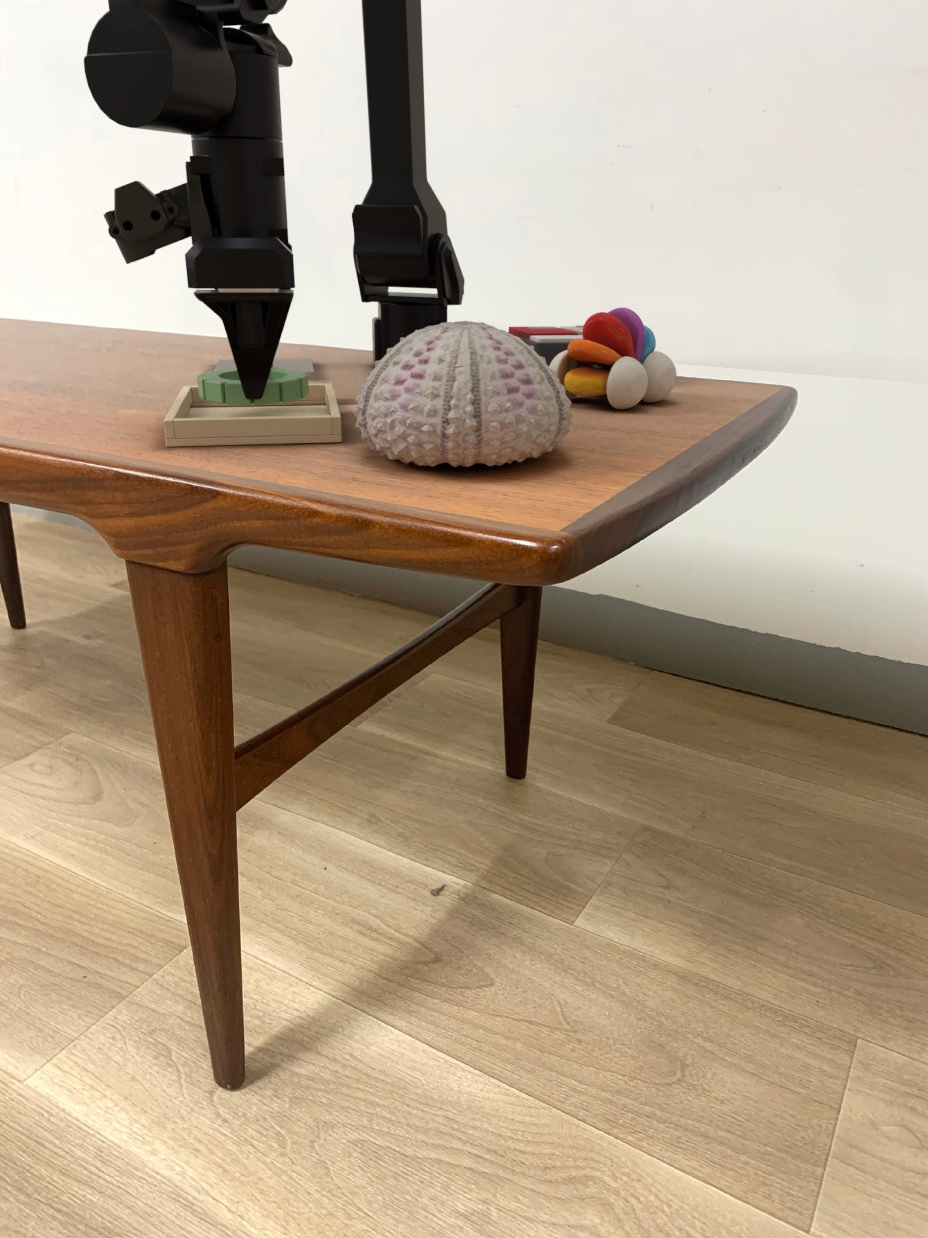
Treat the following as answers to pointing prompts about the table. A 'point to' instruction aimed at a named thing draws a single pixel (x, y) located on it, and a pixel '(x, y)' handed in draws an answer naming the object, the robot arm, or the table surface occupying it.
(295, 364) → the peg stand
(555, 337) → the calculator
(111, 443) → the table surface
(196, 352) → the table surface
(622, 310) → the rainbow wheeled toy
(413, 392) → the sea urchin shell
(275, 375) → the ring
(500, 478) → the table surface
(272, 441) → the tray
